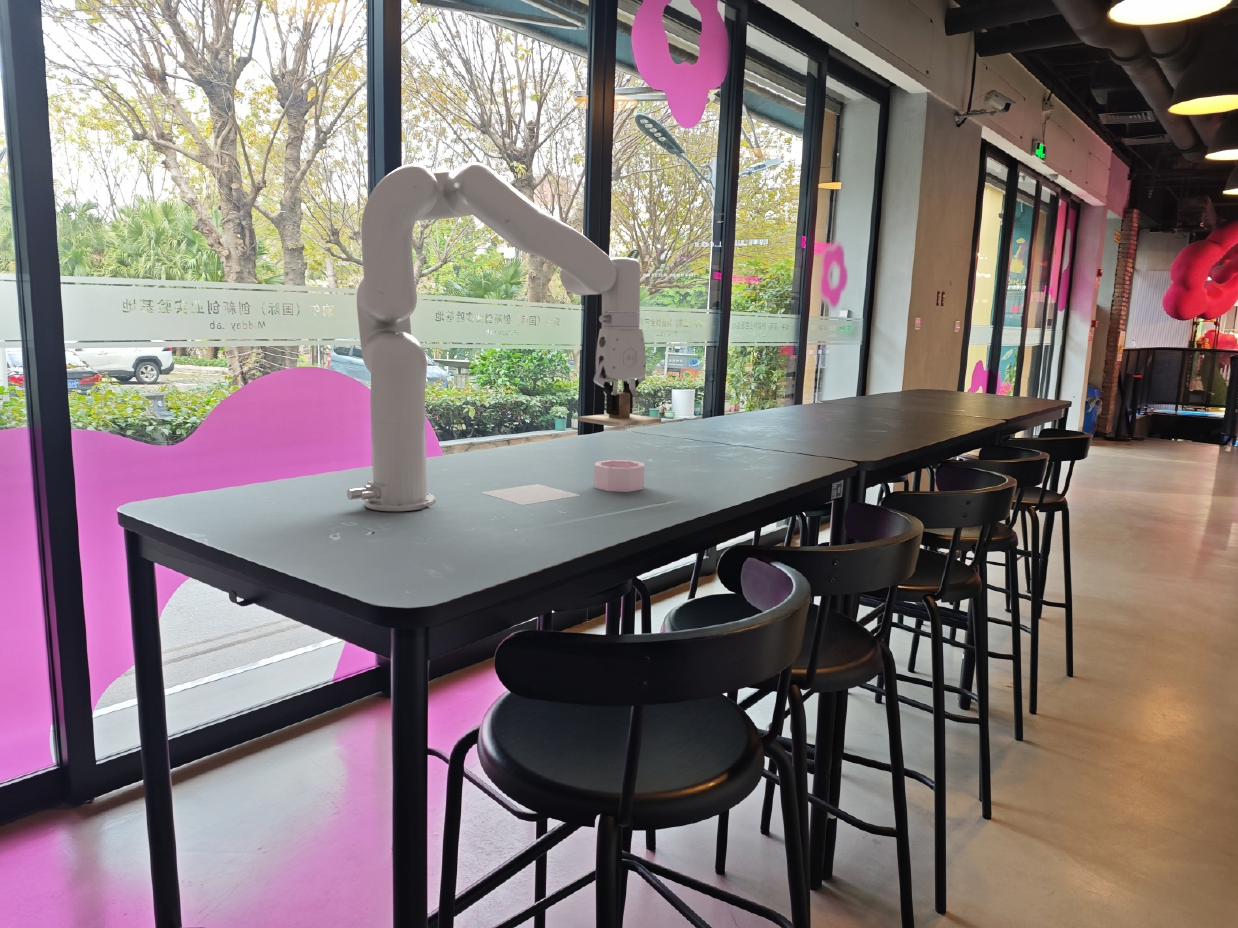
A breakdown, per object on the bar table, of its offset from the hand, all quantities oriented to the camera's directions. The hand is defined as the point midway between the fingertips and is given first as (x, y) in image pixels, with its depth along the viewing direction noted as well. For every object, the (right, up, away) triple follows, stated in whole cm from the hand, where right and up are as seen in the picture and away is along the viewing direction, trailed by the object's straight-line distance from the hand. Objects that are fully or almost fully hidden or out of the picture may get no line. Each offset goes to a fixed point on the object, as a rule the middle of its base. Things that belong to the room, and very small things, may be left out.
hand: (619, 412), depth 169 cm
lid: (0, -2, 0) cm, 2 cm away
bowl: (0, -15, +3) cm, 16 cm away
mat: (-17, -17, -6) cm, 25 cm away
